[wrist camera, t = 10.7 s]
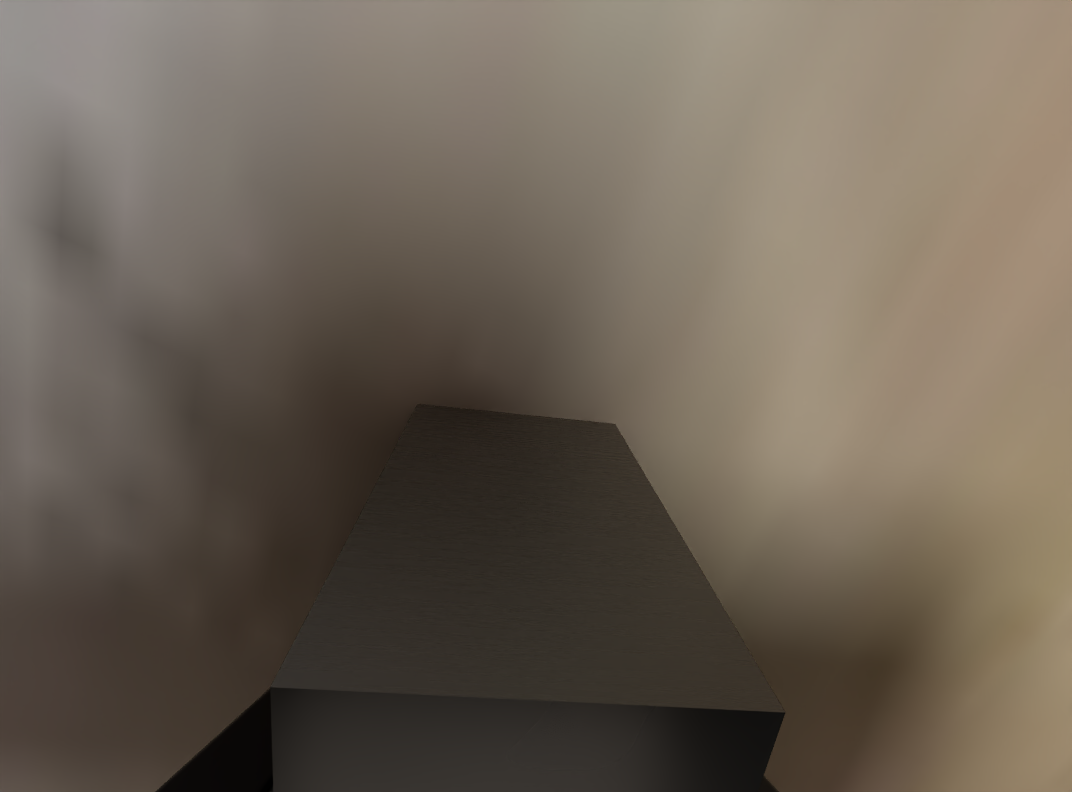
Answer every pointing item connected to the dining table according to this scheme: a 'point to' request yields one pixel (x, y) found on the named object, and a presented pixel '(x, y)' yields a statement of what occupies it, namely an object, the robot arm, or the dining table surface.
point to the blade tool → (518, 630)
